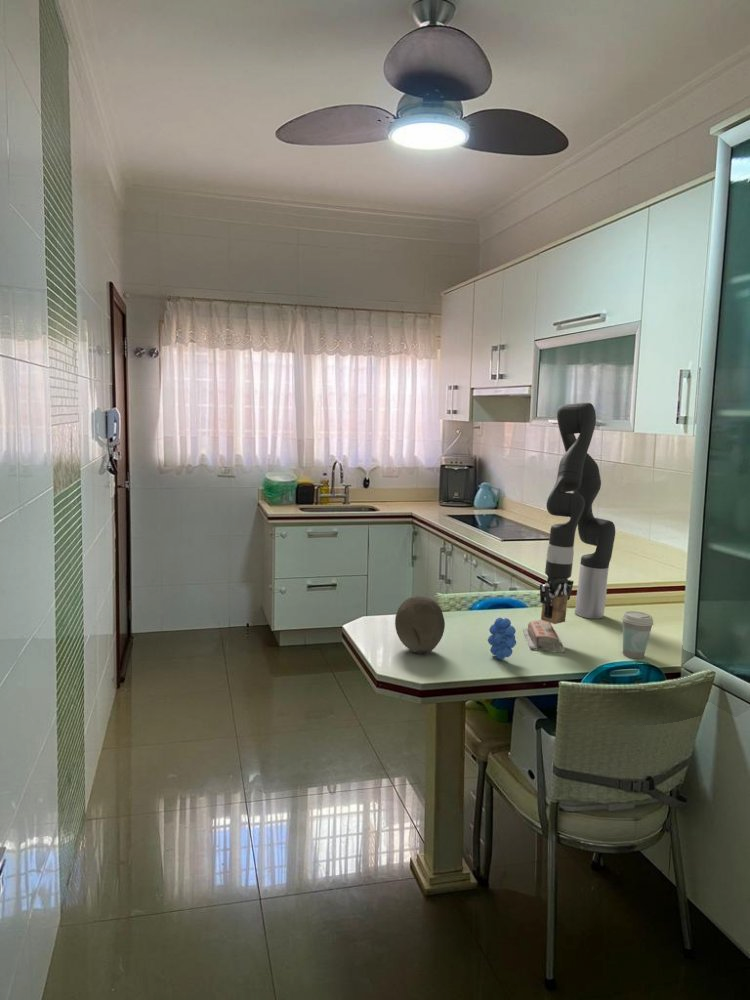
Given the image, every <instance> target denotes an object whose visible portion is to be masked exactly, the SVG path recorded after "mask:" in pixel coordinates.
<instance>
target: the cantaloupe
mask: <svg viewBox="0 0 750 1000" xmlns="http://www.w3.org/2000/svg"><path fill="white" fill-rule="evenodd" d="M394 618H395V620H394V621H395V623H394V625H395V626H394V627H395V631H396V634H397V636H398V640H400V642H401V643H402V645H404V647H406V648H407V649H408V650H409V651H411V652H413V653H417V654H426V653H429V652H432V651H433V650H434V649H435V648H436V647H437V646H438V644H439V643H440V642H441V640H442V637H443V635H444V633H445V626H446V624H445V623H446V622H445V617H444V614H443V611H442V608H441V607H440V605H439V603H438V602H437V601H436V600H434V598H433V599H432V598H430V597H425V596H419V595H417V596H412V597H408V598H407V599H405V600H403V602H402V603H401V604H400V605H399V607H398V608H397V611H396V615H395V617H394Z"/></svg>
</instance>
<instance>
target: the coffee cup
mask: <svg viewBox="0 0 750 1000" xmlns="http://www.w3.org/2000/svg"><path fill="white" fill-rule="evenodd" d="M621 620H622V654H623V656H625V657H628V658H631V659H638V660H639V659H644V658H645V654H646V650H647V646H648V643H649V639H650V635H651V631H652V626H654V619H653V616H652V615H651V614H648V613H646V612H641V611H634V610H628V611H625V612H624V614H623V616H622V618H621Z"/></svg>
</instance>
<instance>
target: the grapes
mask: <svg viewBox="0 0 750 1000" xmlns="http://www.w3.org/2000/svg"><path fill="white" fill-rule="evenodd" d="M488 630H489V633H490V635H489V636H488V639H487V642H488V644H489V645H490V646H491V647H490V649H489V651H490V653H491V654H492V655H494V656H495V657H496V659H497V660H499V659H500V661H503V660H504V659H506V658H510V657H511V655H512V654H513V648H515V646H516V645H517V641H516V628H515V626H513V625H512V621H511V620H510V619H509V618H507V617H506V618H505V617H504V618H502V617H497V618H496V619H495V621H494V623H493V624H491V625H490V627H489V629H488Z"/></svg>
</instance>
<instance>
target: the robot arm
mask: <svg viewBox="0 0 750 1000" xmlns="http://www.w3.org/2000/svg"><path fill="white" fill-rule="evenodd" d="M556 419H557V425H558V429H559V433H560V437H561V440H562V443H563V447H564V451H565V453H564V454H563V456H562V457H561V459H560V462H559V463H558V464H559V465H558V471H557V477H556V480H555V481H556V482H555V484H554V486H553V488H552V490H551V491H550V494H549V495H548V498H547V500H546V510H547V512H548V514H549V515H551V516H556V517H564V518H565V517H566V518H569V520H568V521H567V522H563V523H554V524H552V525H551V527H550V531H549V533H550V534H549V540H548V547H547V550H546V552H547V553H546V559H545V560H546V561H545V569H544V570H545V571H544V574H545V575H546V576H547V579H546V583H545V584H543V583H540V584H539V598H540V599H539V600H540V604H542V605H543V604H545V611H544V616H545V617H547V618H552V610H553V603H554V599H555V598H556V597H557V595H558V594H562V595H568V600H567V601H569V600H570V599H571V595H572V591H573V586H574V583H575V582H574V580H572V579H570V578H571V577H572V572H573V563H574V550H575V549H574V546H575V538H576V531H578V536H579V539H580V540H581V542H582V543H584V544H586V545H591V546H595V547H596V548H595V551H594V552H593V553H588V554H583V555H582V556H581V558H580V563H579V564H580V565H579V572H578V582H577V590H576V598H575V607H574V608H575V609H574V614H575V615H577V616H579V617H581V618H586V619H595V620H596V619H597V620H599V619H602V618H603V617H604V616H605V608H606V602H607V601H606V600H607V592H608V587H607V586H608V574H609V569H610V568H609V567H610V562H611V559H612V555H613V549H614V543H615V539H616V526H615V524H614V522H613V521H612V520H608V519H605V518H604V519H603V518H598V517H595V516H594V514H593V503H594V501H595V500H596V497H597V496H598V495H599V491H600V490H601V487H602V479H601V474H600V469H599V465H598V463H597V462H596V460H595V459H594V458H593V457H592V456H591V455H590V454H589V453H588V450H589V448H590V445H591V442H592V438H593V435H594V432H595V429H596V424H597V414H596V409H595V407H594V405H593V404H592V403H590V402H579V403H578V402H577V403H570V404H568V403H567V404H562V405H559V407H558V409H557V411H556ZM575 434H579V435H578V437H576V435H575ZM549 592H550V593H551V594H554V595H550V594H549ZM544 597H545V599H544ZM550 597H551V600H550Z"/></svg>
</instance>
